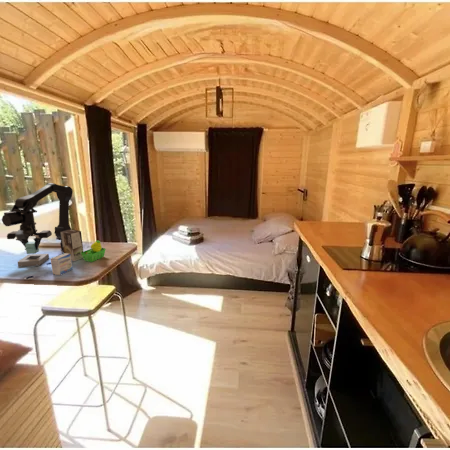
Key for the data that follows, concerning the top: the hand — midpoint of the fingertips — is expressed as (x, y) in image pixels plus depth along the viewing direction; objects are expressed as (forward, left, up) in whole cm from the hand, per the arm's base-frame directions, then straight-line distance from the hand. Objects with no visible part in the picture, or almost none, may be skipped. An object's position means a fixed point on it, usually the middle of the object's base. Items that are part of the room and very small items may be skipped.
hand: (32, 249), depth 137 cm
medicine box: (-20, +16, -7) cm, 27 cm away
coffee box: (-19, -3, -7) cm, 21 cm away
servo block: (0, 0, -2) cm, 2 cm away
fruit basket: (-31, 0, -7) cm, 32 cm away
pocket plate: (0, 0, -7) cm, 7 cm away
